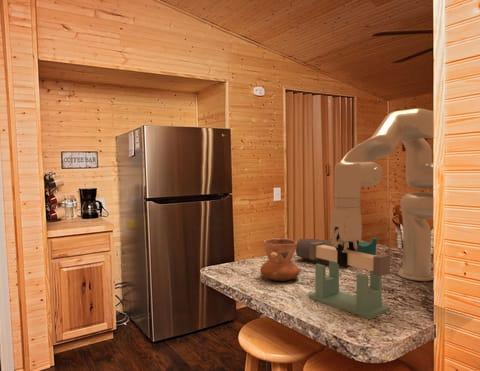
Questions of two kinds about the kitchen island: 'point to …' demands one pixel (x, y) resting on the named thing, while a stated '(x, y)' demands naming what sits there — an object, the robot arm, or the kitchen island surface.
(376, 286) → the rack
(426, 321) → the kitchen island surface
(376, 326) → the kitchen island surface
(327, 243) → the bluetooth speaker
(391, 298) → the kitchen island surface
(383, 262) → the tan wooden bar
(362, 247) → the teal notched block
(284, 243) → the ceramic jug
